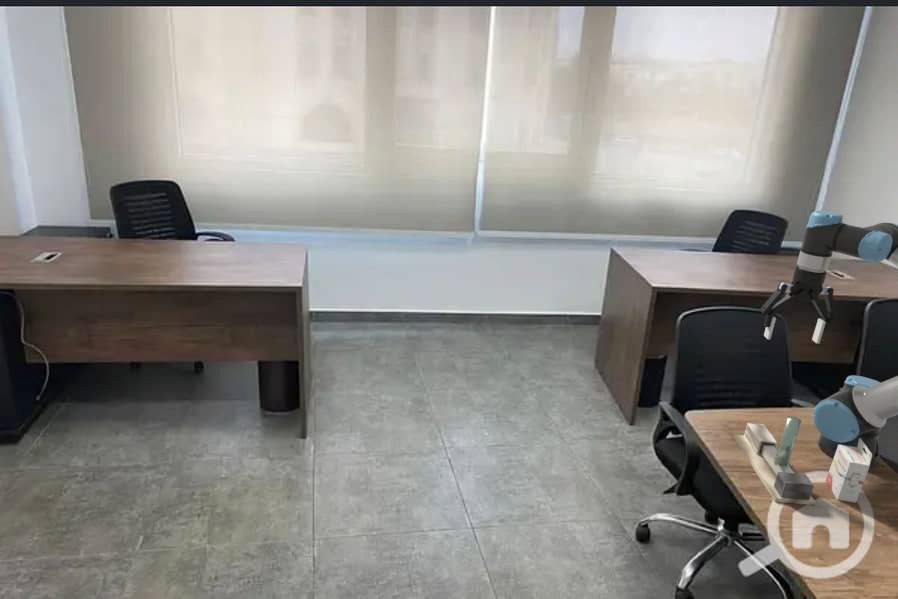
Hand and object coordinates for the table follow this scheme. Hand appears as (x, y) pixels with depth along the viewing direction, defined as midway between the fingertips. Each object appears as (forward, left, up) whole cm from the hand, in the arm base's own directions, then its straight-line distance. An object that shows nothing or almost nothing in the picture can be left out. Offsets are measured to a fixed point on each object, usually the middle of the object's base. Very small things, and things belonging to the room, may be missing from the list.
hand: (791, 339), depth 181 cm
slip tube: (+5, +20, -30) cm, 36 cm away
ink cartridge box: (-10, +25, -32) cm, 42 cm away
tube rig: (+5, +17, -32) cm, 36 cm away
